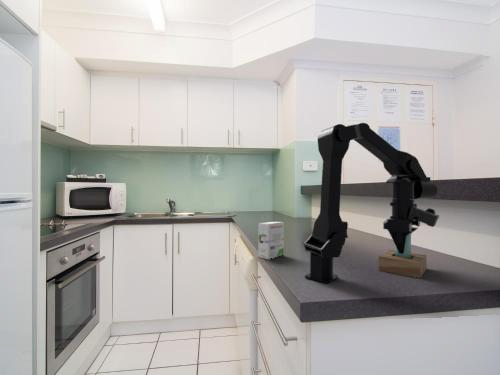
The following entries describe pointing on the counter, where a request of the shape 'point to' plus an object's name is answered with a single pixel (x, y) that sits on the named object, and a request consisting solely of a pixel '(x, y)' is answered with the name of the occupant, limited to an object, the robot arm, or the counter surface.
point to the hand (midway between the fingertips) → (402, 252)
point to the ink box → (271, 240)
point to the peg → (407, 249)
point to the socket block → (403, 264)
